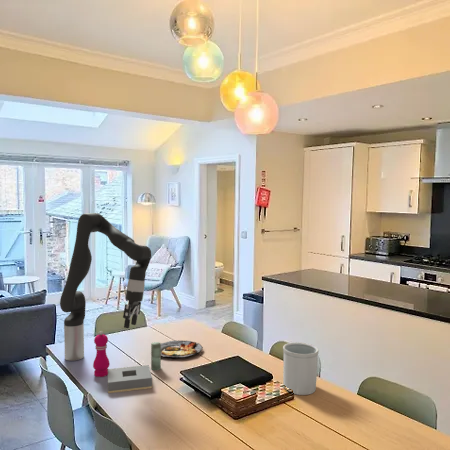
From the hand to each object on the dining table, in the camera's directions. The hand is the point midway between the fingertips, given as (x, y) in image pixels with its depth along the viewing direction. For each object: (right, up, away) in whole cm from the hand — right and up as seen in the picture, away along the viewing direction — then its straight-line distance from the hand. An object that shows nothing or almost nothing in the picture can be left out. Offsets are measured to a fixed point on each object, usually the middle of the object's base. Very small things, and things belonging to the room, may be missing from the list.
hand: (130, 326), depth 186 cm
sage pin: (+10, -23, +12) cm, 28 cm away
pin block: (+1, -24, -4) cm, 24 cm away
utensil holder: (+74, -25, -7) cm, 79 cm away
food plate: (+18, -22, +34) cm, 45 cm away
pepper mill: (-14, -23, +6) cm, 28 cm away
